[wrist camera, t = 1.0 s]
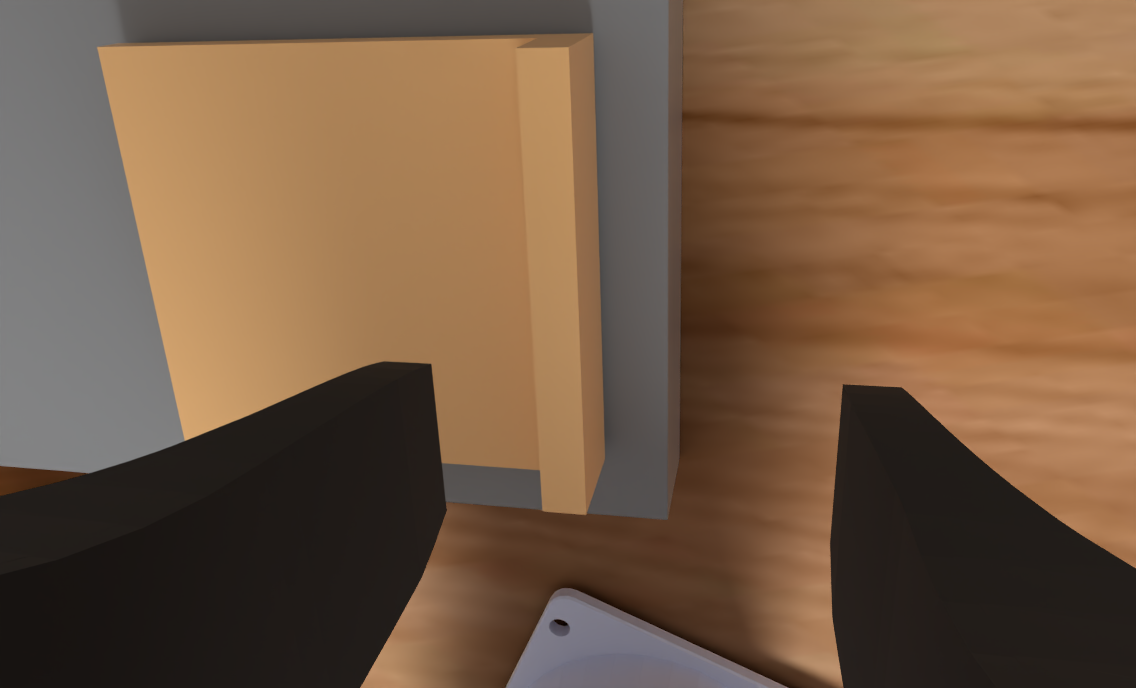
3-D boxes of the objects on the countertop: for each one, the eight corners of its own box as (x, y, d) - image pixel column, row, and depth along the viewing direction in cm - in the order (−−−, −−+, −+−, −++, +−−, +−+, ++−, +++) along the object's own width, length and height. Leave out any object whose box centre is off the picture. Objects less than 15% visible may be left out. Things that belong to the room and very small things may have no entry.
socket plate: (683, -71, 17) (668, -70, 15) (679, 458, 22) (667, 519, 20) (-179, -34, 21) (-292, -30, 19) (-37, 409, 26) (-115, 456, 23)
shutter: (593, 33, 16) (568, 47, 14) (605, 458, 19) (586, 514, 17) (118, 43, 18) (42, 56, 16) (201, 431, 21) (146, 479, 19)
